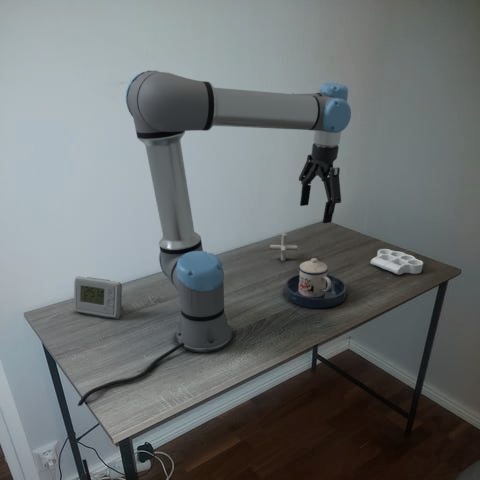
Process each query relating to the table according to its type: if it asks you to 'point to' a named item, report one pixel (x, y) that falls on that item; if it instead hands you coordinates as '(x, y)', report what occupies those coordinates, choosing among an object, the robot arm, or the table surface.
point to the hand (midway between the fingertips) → (315, 213)
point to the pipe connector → (283, 247)
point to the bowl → (327, 300)
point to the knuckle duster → (397, 262)
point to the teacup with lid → (313, 278)
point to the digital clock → (97, 297)
